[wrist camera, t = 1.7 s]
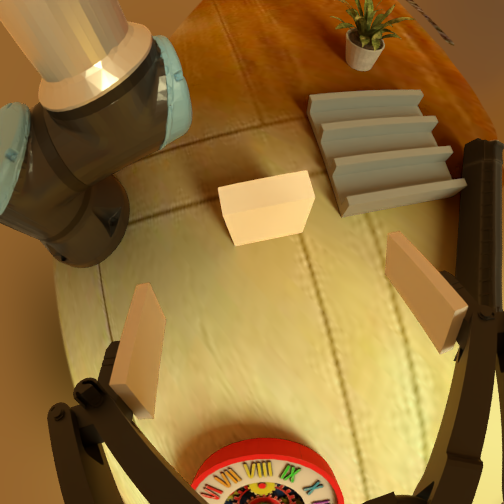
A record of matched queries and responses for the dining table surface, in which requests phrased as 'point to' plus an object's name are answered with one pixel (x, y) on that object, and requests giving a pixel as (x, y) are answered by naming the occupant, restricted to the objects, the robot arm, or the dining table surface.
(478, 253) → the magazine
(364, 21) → the house plant
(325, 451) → the dining table surface
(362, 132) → the notched rack
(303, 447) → the toy clock
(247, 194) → the picture frame
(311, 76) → the dining table surface
